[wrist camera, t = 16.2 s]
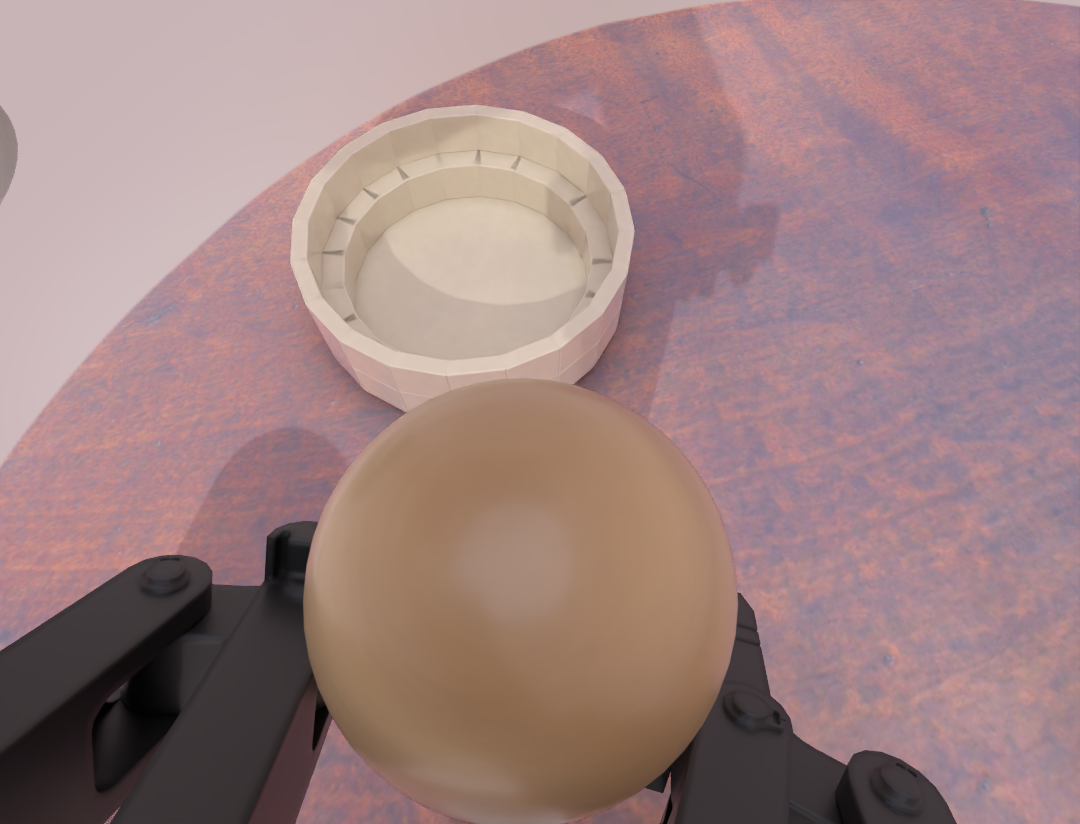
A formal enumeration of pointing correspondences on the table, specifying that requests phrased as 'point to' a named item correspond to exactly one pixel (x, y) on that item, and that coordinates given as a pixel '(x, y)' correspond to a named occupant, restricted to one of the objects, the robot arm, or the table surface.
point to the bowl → (463, 252)
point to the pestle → (520, 603)
